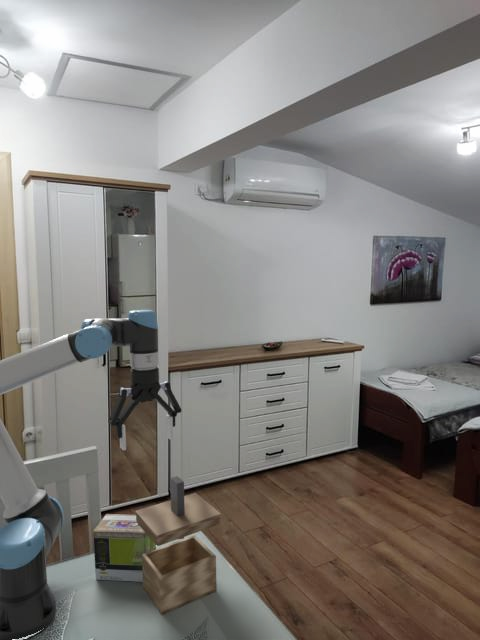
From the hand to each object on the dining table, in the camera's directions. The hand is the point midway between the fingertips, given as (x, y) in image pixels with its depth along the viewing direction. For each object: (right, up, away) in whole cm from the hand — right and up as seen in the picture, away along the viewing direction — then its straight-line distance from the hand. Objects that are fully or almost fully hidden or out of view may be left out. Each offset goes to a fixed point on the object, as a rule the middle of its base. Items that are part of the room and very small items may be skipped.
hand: (147, 443), depth 129 cm
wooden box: (+9, -39, -2) cm, 40 cm away
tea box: (-7, -39, +6) cm, 40 cm away
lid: (+9, -20, -4) cm, 22 cm away
